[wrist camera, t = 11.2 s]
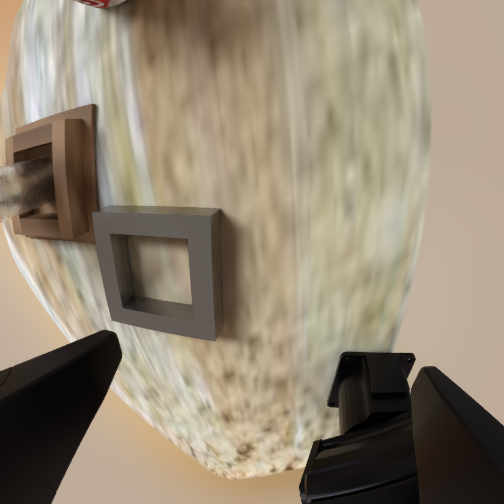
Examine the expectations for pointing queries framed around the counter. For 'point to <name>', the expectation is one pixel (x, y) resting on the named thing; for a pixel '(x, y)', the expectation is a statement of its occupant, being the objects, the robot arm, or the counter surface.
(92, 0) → the soda can
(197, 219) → the socket block
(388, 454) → the robot arm
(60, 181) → the brown square tray
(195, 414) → the counter surface
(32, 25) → the counter surface
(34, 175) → the silver metal cylinder
